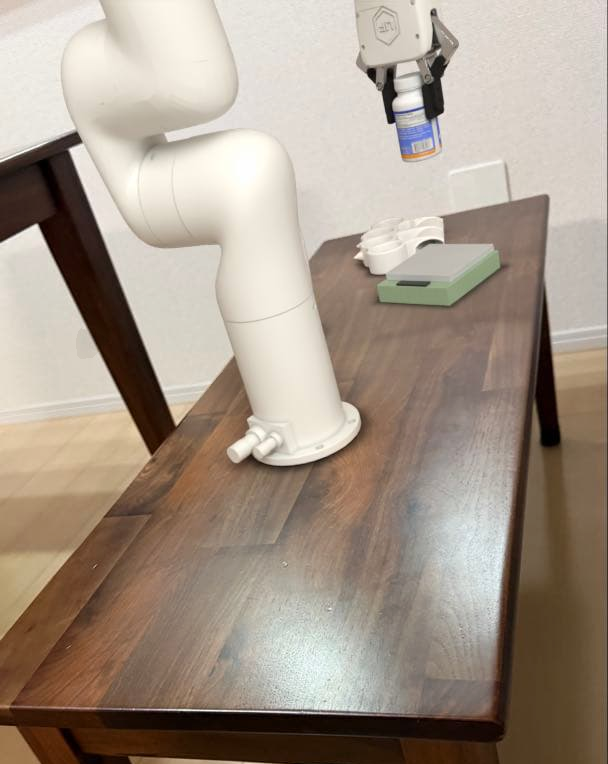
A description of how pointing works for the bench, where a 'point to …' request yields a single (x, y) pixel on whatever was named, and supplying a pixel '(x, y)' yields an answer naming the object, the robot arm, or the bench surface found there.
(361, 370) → the bench surface
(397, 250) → the white compartment tray
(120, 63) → the robot arm
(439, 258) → the scale
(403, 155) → the pill bottle
